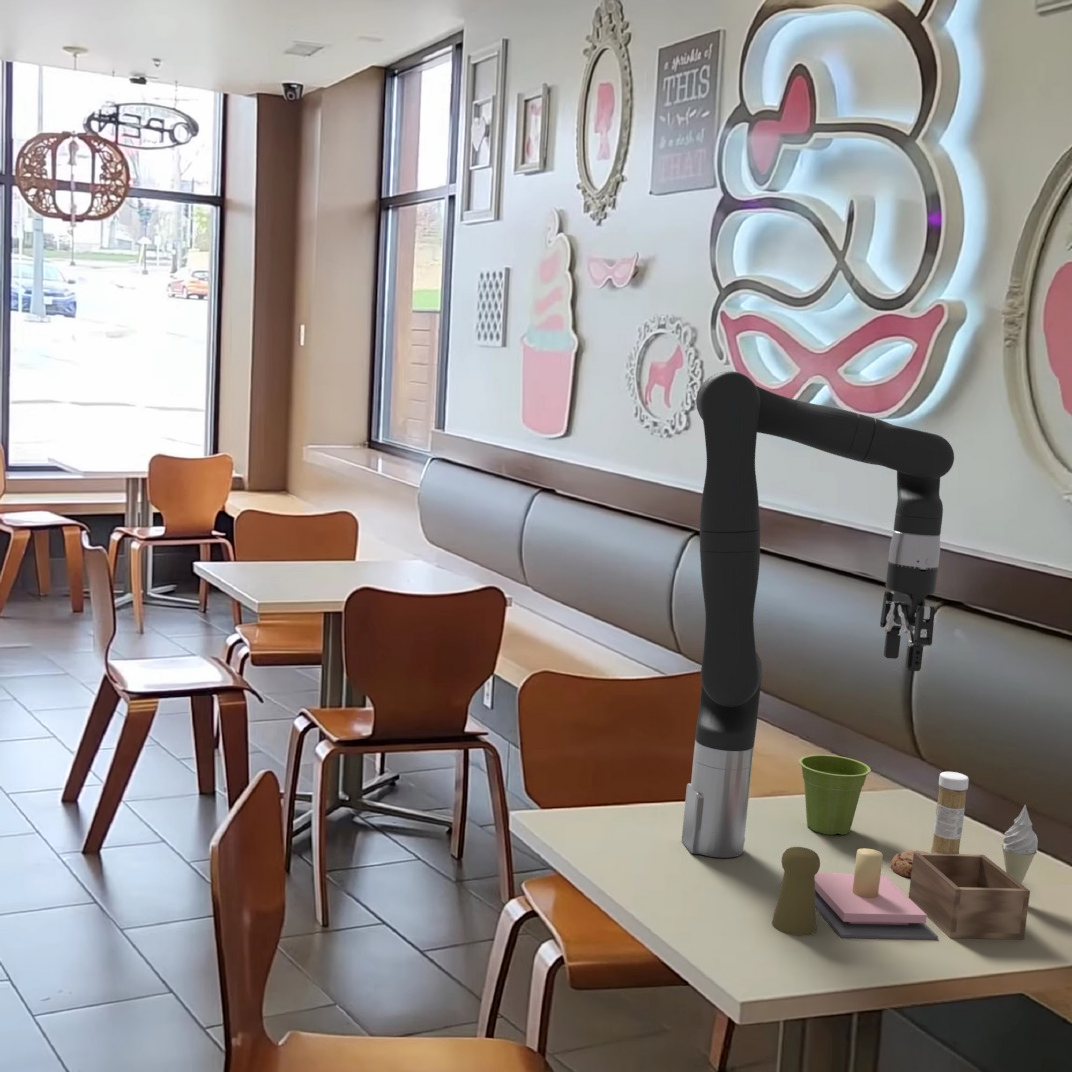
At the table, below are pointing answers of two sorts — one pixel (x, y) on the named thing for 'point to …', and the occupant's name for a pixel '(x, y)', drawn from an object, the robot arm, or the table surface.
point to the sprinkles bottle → (949, 813)
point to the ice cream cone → (1019, 846)
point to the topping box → (969, 896)
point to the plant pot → (832, 791)
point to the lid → (867, 894)
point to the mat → (871, 926)
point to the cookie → (904, 863)
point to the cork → (797, 892)
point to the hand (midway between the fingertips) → (901, 664)
